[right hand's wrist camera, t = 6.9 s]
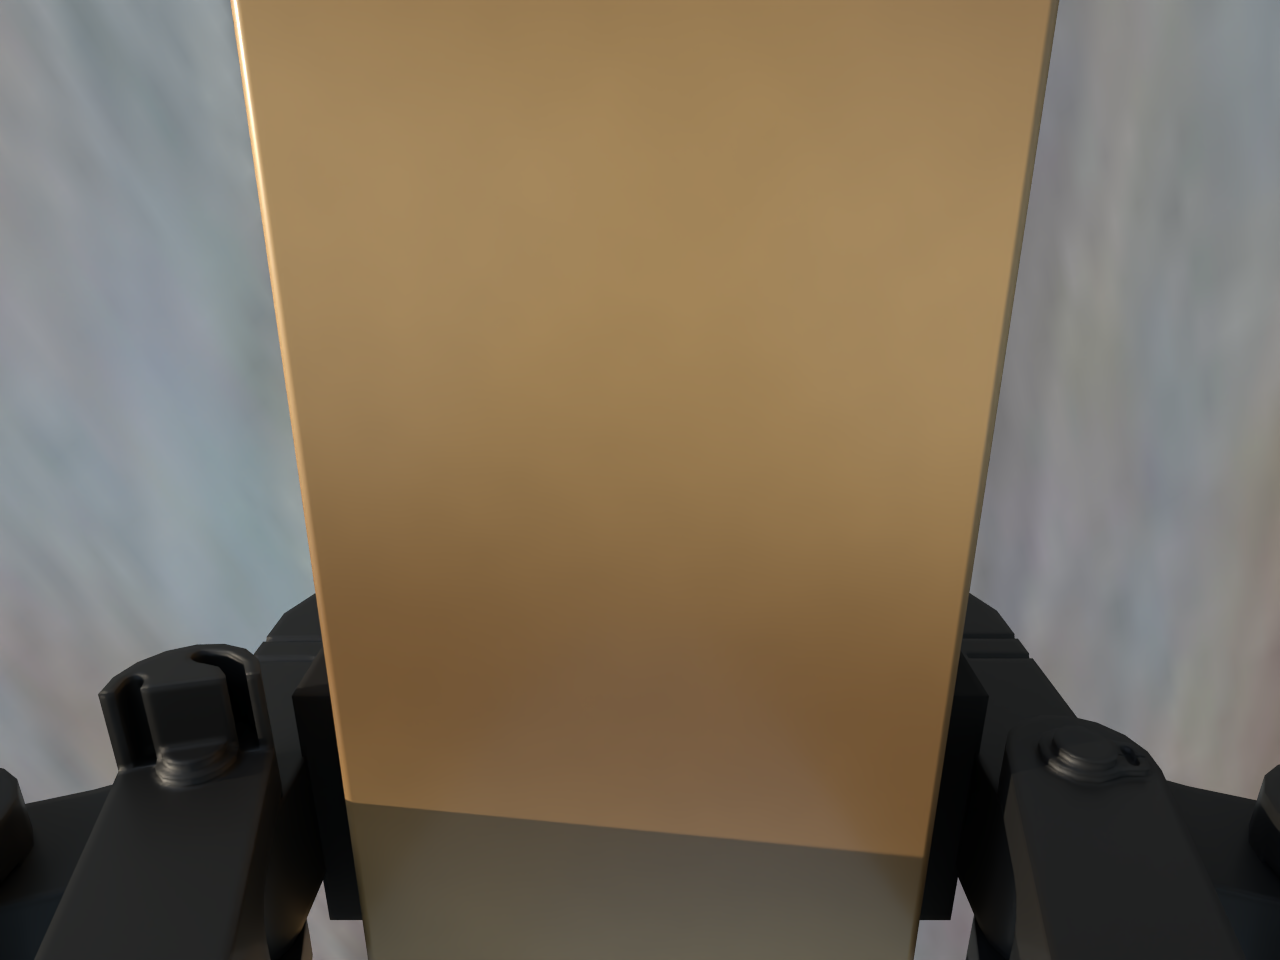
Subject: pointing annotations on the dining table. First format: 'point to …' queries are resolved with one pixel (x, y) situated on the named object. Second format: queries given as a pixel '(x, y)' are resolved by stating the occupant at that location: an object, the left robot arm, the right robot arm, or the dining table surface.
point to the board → (642, 446)
